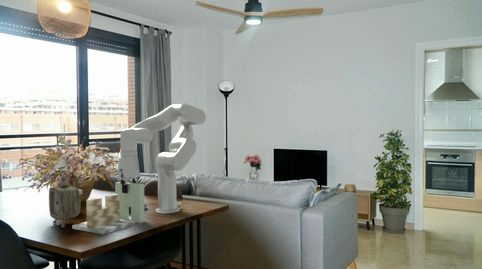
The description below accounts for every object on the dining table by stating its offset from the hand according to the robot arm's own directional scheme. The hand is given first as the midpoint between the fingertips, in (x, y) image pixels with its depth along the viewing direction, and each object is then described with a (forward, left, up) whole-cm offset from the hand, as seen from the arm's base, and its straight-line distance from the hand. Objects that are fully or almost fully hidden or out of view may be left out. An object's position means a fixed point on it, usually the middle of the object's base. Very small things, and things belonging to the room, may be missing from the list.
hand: (129, 191), depth 187 cm
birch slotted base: (+14, -2, -14) cm, 20 cm away
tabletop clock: (+20, -21, -14) cm, 32 cm away
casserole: (-14, -19, -14) cm, 28 cm away
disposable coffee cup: (+2, -39, -14) cm, 42 cm away
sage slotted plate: (0, 0, -14) cm, 14 cm away
